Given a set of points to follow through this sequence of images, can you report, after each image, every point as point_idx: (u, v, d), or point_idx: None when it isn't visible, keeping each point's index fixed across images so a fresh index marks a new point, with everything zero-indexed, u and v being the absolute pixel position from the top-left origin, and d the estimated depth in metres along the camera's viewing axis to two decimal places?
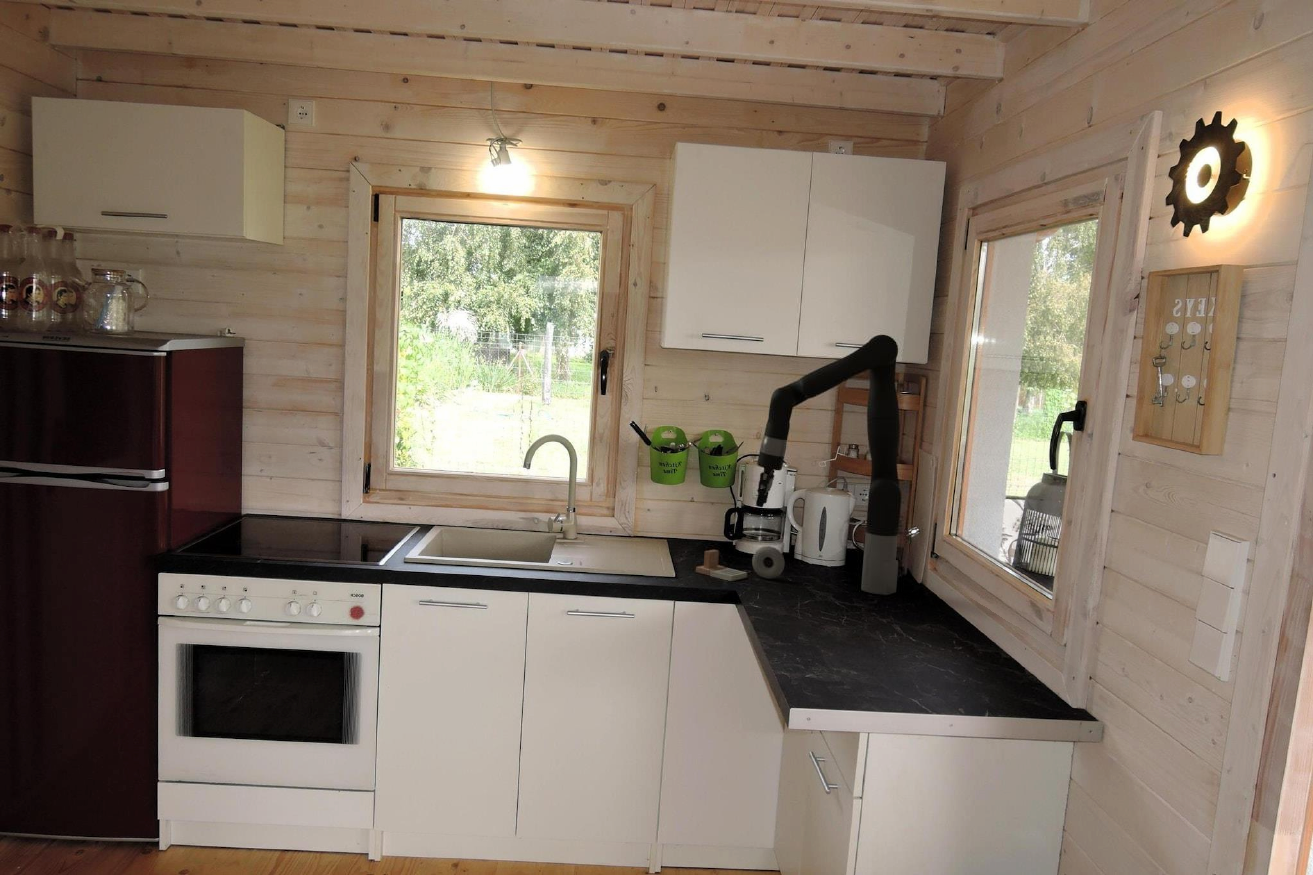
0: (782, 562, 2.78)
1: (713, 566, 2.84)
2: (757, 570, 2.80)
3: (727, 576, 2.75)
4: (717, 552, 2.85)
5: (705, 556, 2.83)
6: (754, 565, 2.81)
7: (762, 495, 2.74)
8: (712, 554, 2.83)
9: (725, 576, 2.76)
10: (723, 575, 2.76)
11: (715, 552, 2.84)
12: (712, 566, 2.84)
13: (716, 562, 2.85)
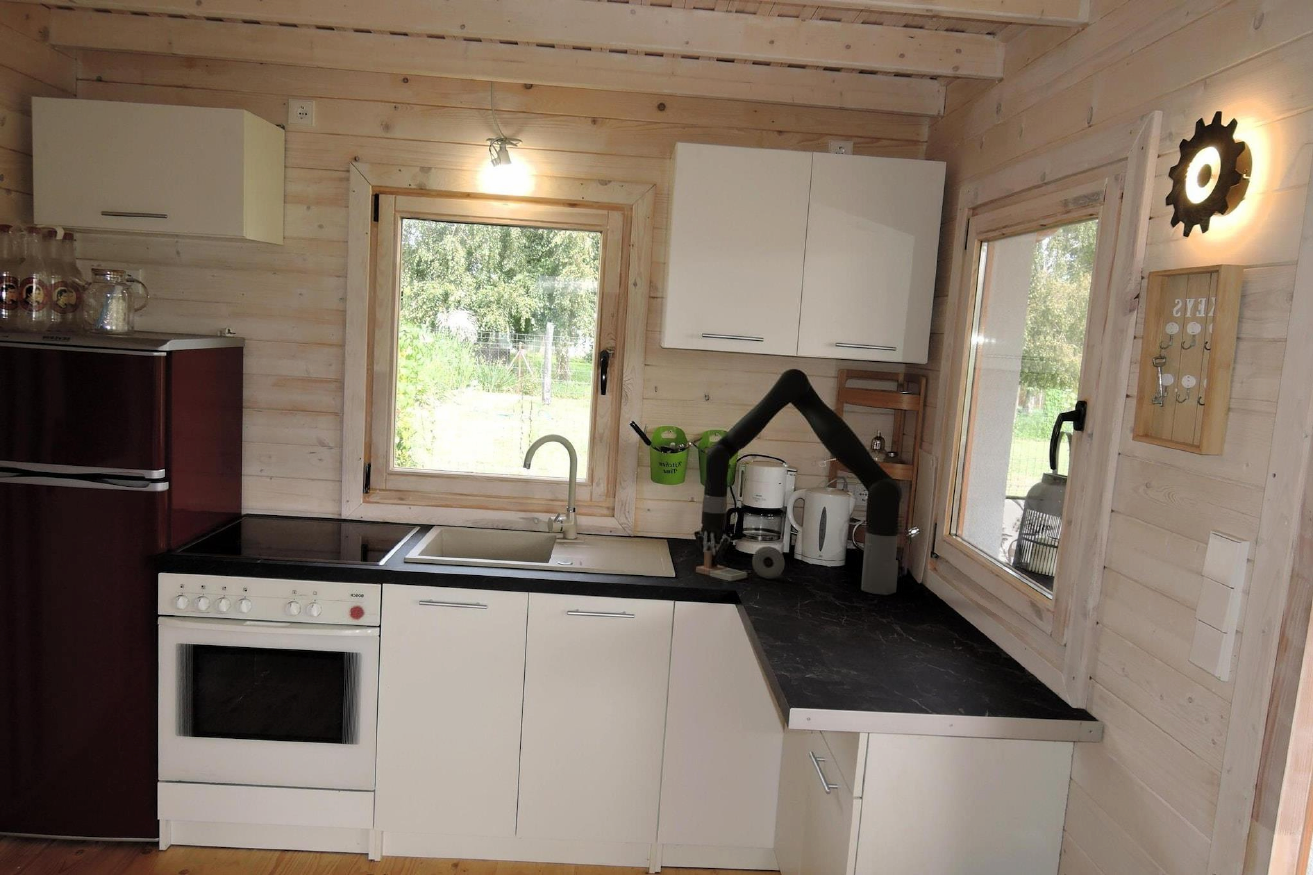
0: (782, 562, 2.78)
1: None
2: (757, 570, 2.80)
3: (727, 576, 2.75)
4: None
5: (705, 556, 2.83)
6: (754, 565, 2.81)
7: (718, 555, 2.83)
8: (712, 554, 2.83)
9: (725, 576, 2.76)
10: (723, 575, 2.76)
11: None
12: None
13: None
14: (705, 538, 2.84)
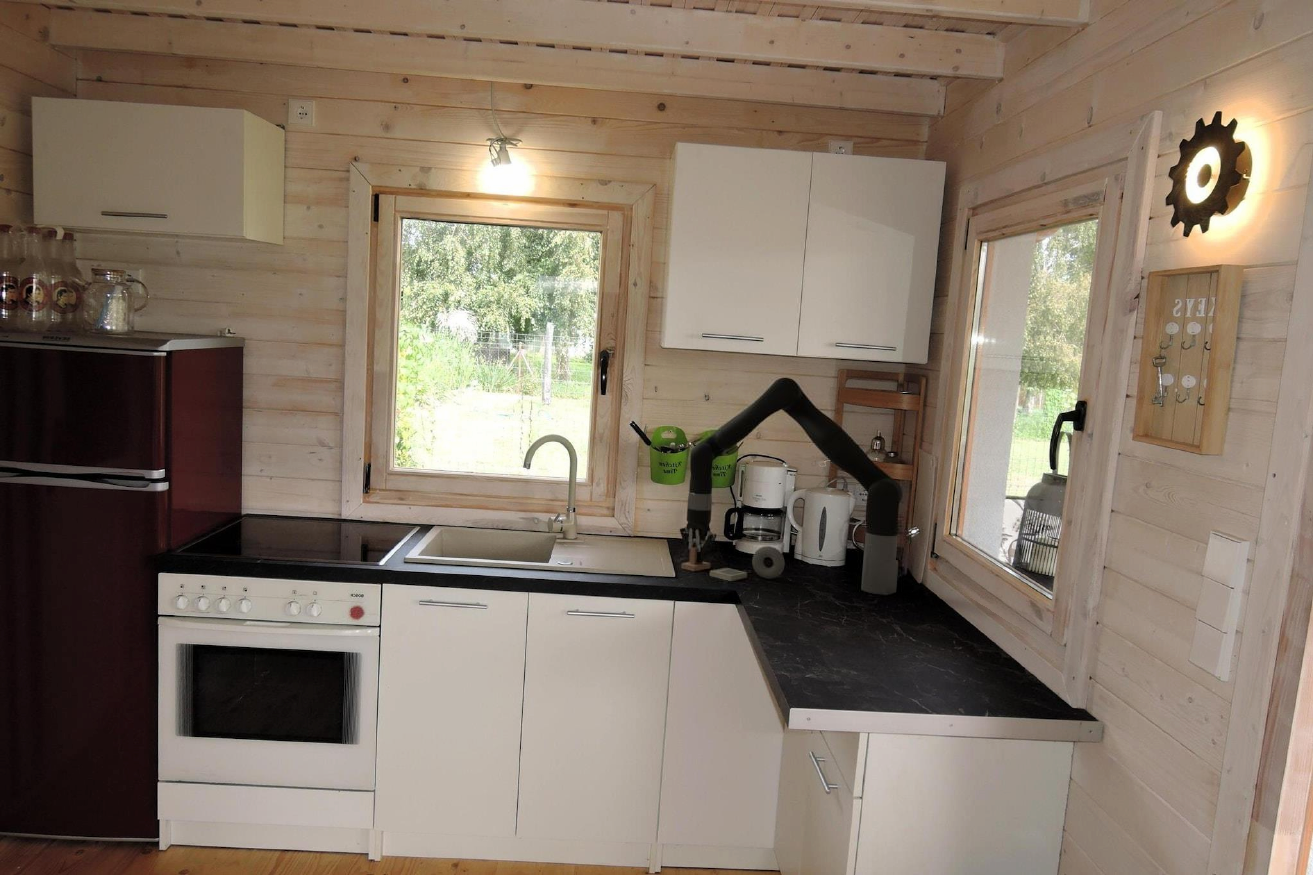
0: (782, 562, 2.78)
1: None
2: (757, 570, 2.80)
3: (727, 576, 2.75)
4: None
5: (690, 553, 2.87)
6: (754, 565, 2.81)
7: (703, 551, 2.87)
8: None
9: (725, 576, 2.76)
10: (723, 575, 2.76)
11: None
12: None
13: None
14: (690, 535, 2.88)
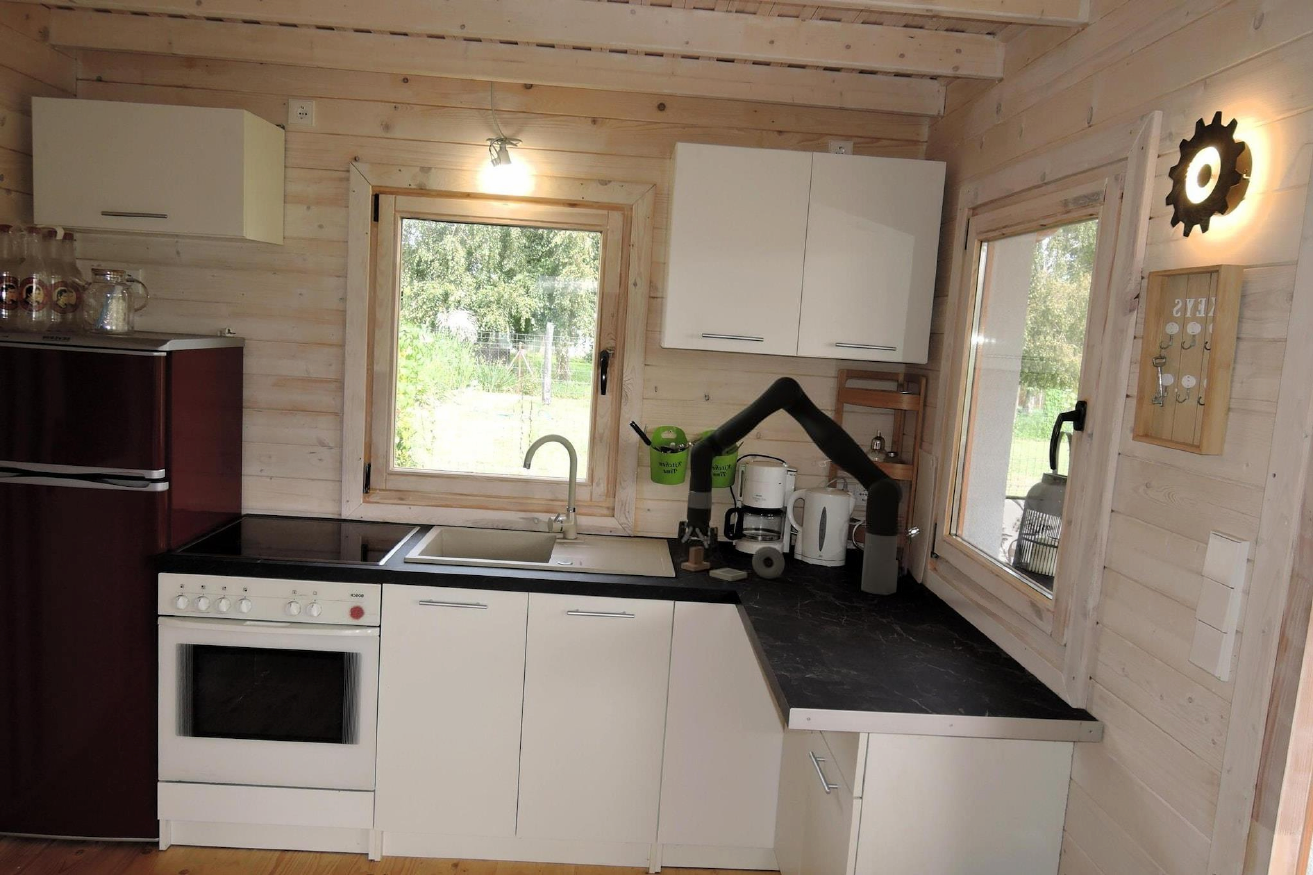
0: (782, 562, 2.78)
1: (698, 562, 2.88)
2: (757, 570, 2.80)
3: (727, 576, 2.75)
4: (702, 549, 2.89)
5: (690, 552, 2.87)
6: (754, 565, 2.81)
7: (711, 548, 2.85)
8: (697, 550, 2.87)
9: (725, 576, 2.76)
10: (723, 575, 2.76)
11: (700, 549, 2.88)
12: (697, 562, 2.88)
13: (701, 558, 2.89)
14: (688, 532, 2.88)
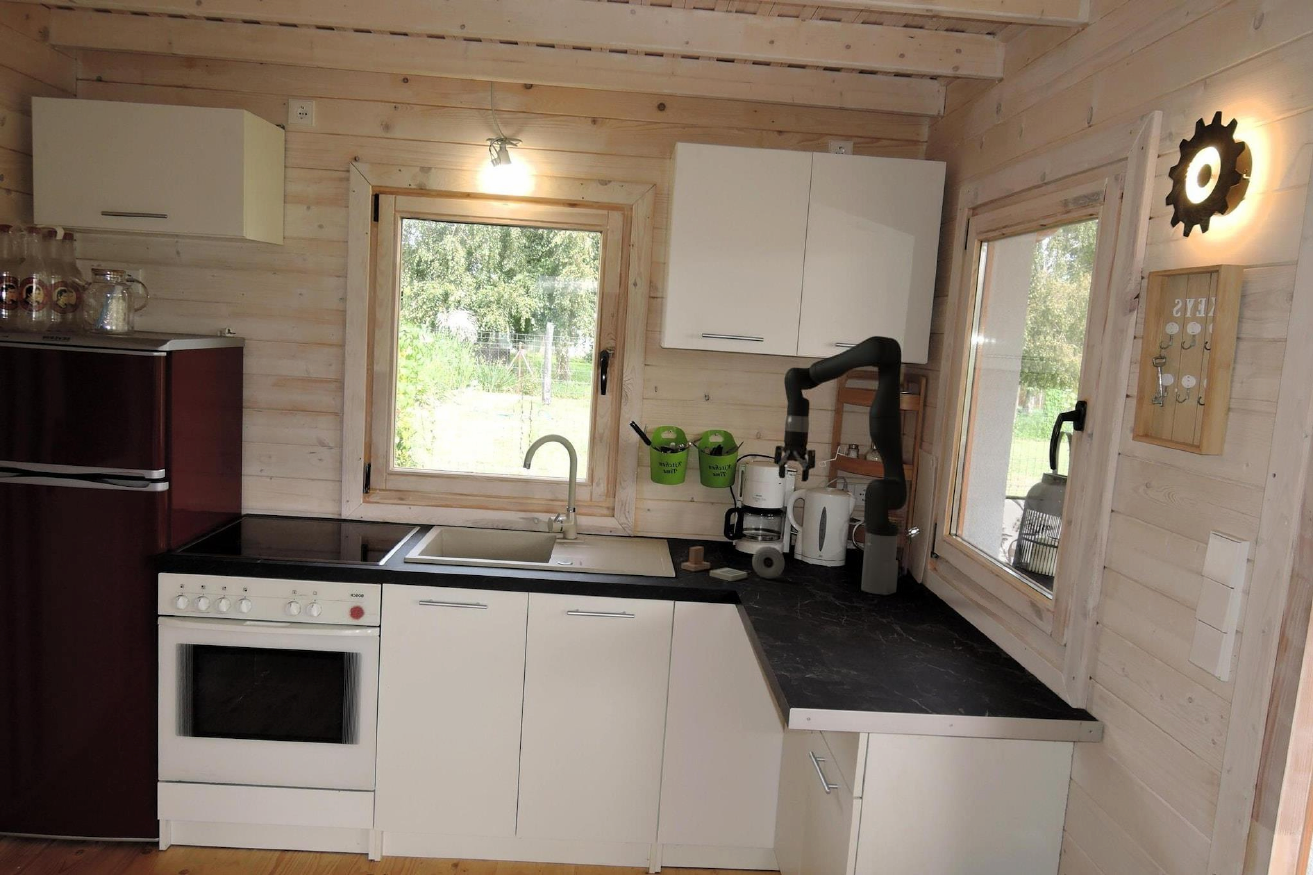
0: (782, 562, 2.78)
1: (698, 562, 2.88)
2: (757, 570, 2.80)
3: (727, 576, 2.75)
4: (702, 549, 2.89)
5: (690, 552, 2.87)
6: (754, 565, 2.81)
7: (808, 470, 2.96)
8: (697, 550, 2.87)
9: (725, 576, 2.76)
10: (723, 575, 2.76)
11: (700, 549, 2.88)
12: (697, 562, 2.88)
13: (701, 558, 2.89)
14: (785, 455, 2.99)
